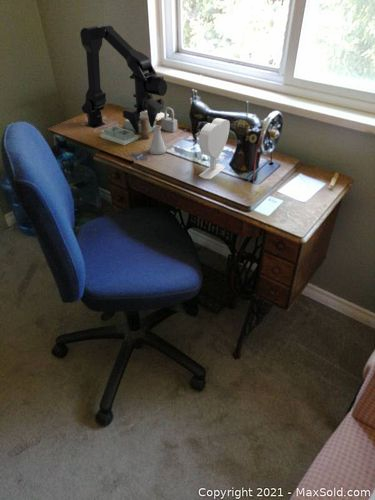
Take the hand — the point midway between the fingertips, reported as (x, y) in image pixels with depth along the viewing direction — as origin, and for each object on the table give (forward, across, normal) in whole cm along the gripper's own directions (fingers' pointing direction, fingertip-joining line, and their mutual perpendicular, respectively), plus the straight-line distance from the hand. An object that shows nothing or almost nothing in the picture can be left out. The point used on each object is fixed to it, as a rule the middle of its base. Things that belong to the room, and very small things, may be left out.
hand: (144, 130), depth 159 cm
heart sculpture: (+4, -8, -40) cm, 41 cm away
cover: (0, +15, +9) cm, 18 cm away
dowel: (+4, 0, 0) cm, 4 cm away
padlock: (+4, +14, -2) cm, 15 cm away
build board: (+4, -6, +9) cm, 12 cm away
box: (+4, +7, +9) cm, 12 cm away
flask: (+4, -7, -13) cm, 15 cm away
